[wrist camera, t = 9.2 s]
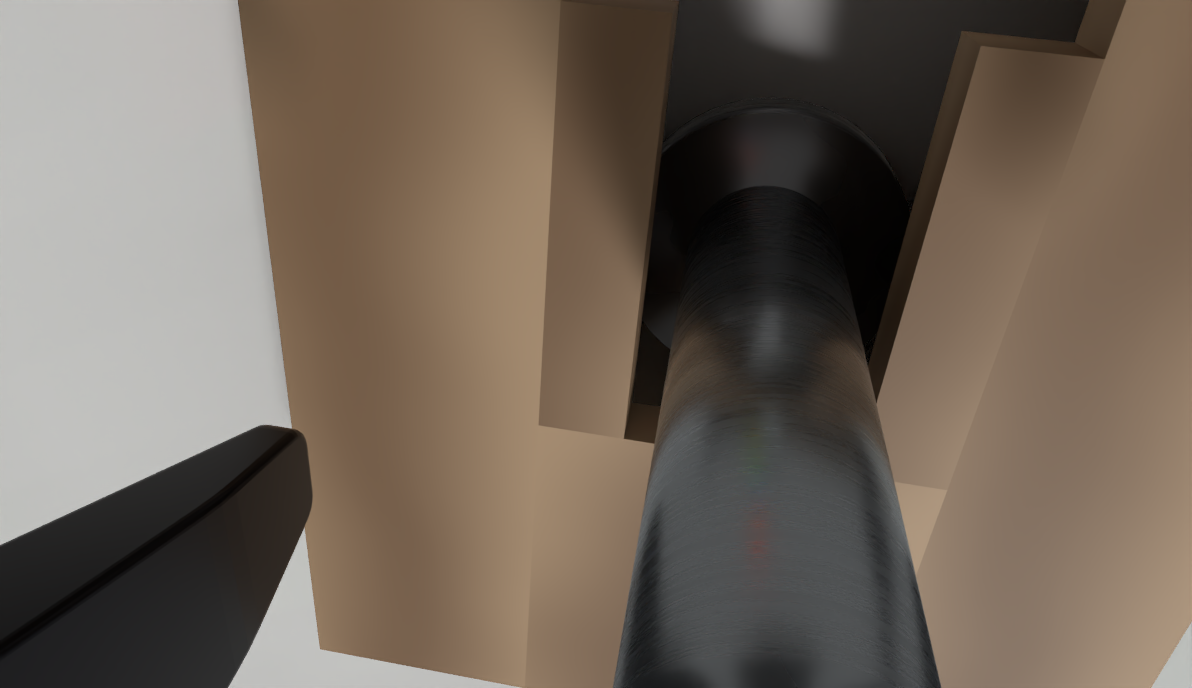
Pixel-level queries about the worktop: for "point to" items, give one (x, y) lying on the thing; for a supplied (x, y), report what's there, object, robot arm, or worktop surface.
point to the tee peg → (772, 416)
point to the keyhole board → (614, 314)
